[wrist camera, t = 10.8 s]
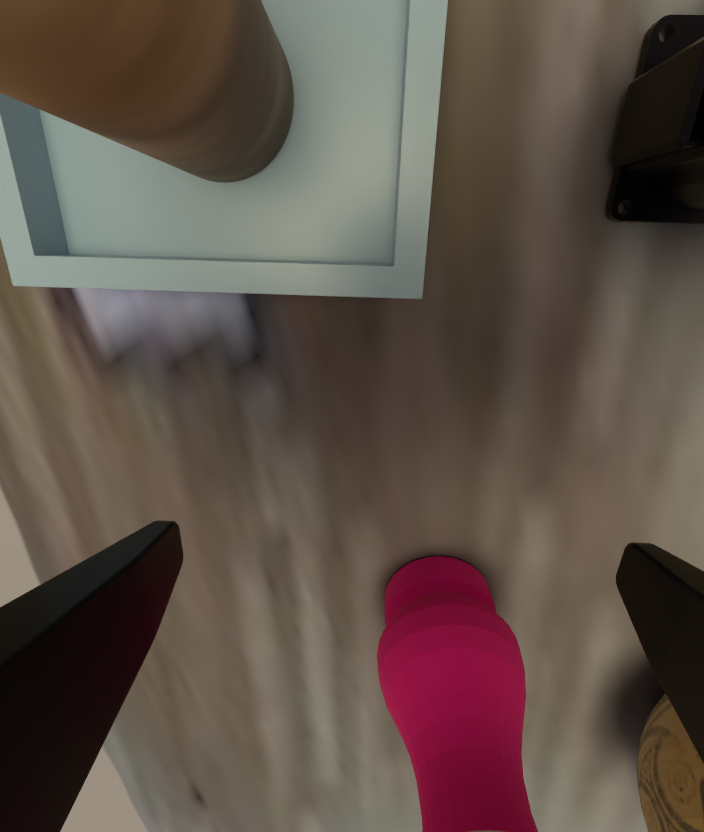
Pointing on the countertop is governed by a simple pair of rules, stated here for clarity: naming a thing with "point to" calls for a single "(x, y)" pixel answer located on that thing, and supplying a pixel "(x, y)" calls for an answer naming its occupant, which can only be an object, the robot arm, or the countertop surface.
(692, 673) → the robot arm
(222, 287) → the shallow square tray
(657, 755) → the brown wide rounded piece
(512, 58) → the countertop surface
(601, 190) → the countertop surface
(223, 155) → the walnut post
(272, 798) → the countertop surface
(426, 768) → the pepper mill
